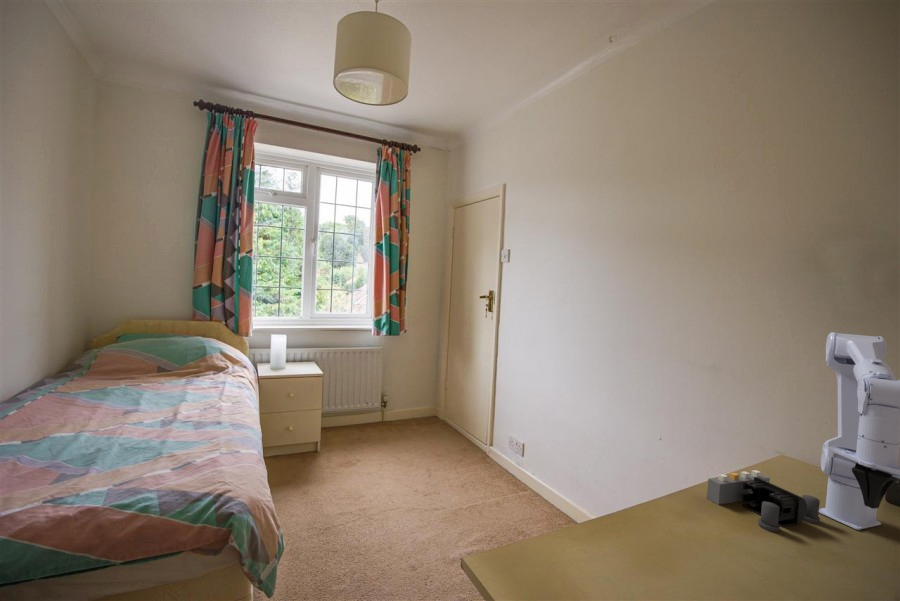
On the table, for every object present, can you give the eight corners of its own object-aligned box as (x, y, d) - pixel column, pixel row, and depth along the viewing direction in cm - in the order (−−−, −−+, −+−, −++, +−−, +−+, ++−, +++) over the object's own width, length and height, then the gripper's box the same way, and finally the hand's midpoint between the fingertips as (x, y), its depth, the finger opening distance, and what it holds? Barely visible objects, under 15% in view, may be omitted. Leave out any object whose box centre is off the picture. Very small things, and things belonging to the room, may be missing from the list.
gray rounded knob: (765, 521, 91) (767, 499, 91) (783, 531, 88) (785, 508, 88) (754, 523, 90) (756, 501, 90) (772, 533, 86) (774, 510, 86)
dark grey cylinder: (804, 514, 96) (806, 493, 96) (823, 522, 92) (825, 501, 92) (795, 516, 95) (797, 495, 95) (813, 524, 91) (815, 503, 91)
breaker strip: (755, 491, 106) (757, 467, 106) (768, 496, 104) (770, 472, 103) (706, 498, 100) (708, 473, 100) (718, 504, 97) (720, 479, 97)
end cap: (806, 525, 91) (809, 496, 91) (783, 529, 89) (786, 498, 89) (760, 502, 100) (763, 475, 100) (739, 505, 98) (741, 477, 98)
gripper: (821, 427, 86) (815, 490, 86) (919, 455, 72) (911, 530, 73) (841, 426, 88) (835, 487, 89) (940, 452, 75) (932, 525, 75)
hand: (871, 506), depth 81 cm, fingers closed
